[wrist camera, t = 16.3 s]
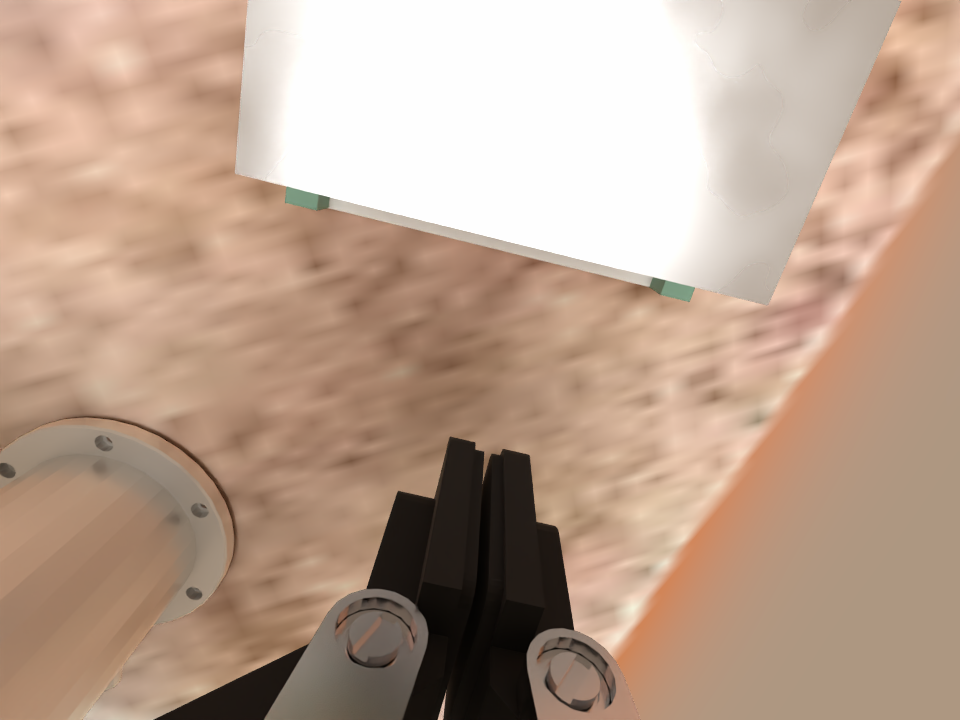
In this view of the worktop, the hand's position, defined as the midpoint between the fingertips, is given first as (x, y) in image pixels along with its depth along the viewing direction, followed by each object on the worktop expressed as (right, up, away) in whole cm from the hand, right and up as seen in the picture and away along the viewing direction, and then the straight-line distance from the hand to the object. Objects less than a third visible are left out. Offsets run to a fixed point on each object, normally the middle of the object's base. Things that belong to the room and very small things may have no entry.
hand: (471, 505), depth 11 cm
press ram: (+2, +12, +9) cm, 15 cm away
